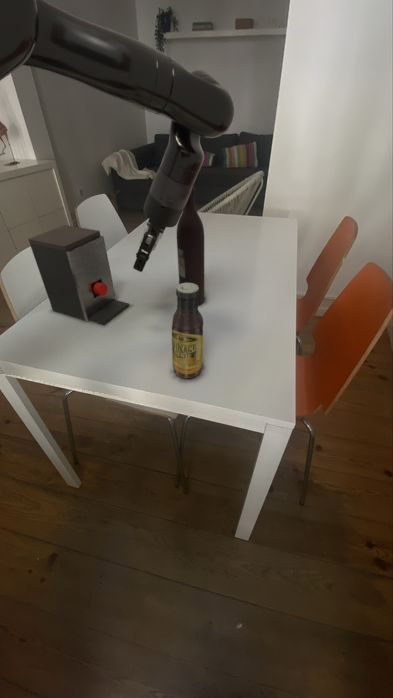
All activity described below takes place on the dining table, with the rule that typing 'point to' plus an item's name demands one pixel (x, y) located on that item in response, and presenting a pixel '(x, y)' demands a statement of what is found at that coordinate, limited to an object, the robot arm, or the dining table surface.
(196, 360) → the sauce bottle
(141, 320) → the dining table surface
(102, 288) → the power button
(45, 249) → the coffee maker
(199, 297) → the wine bottle
